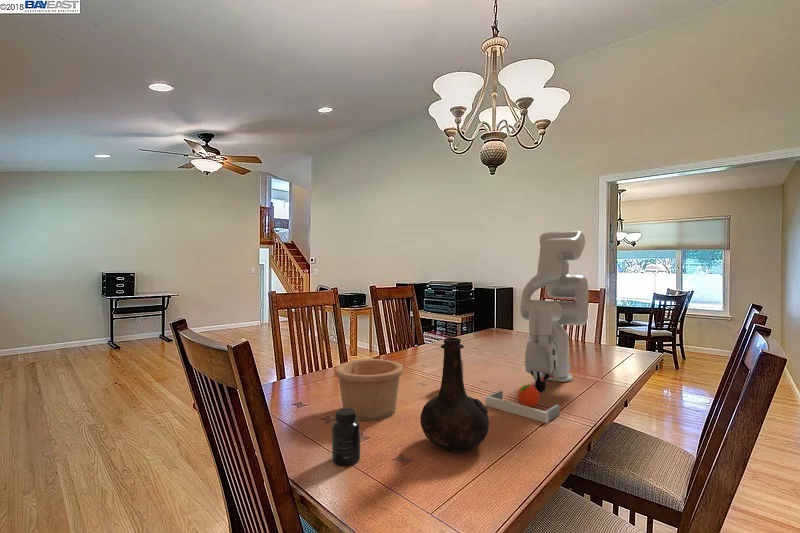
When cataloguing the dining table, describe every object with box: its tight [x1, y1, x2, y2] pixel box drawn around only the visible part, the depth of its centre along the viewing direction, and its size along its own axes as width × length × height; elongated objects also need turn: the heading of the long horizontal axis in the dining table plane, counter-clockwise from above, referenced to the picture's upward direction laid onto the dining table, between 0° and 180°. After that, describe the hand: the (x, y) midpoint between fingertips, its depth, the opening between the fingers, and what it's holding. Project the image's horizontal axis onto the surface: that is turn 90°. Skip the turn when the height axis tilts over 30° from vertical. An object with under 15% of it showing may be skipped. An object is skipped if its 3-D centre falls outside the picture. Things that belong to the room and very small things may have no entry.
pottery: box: [334, 358, 404, 422], centre depth 130 cm, size 22×22×14 cm
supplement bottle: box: [331, 407, 361, 467], centre depth 98 cm, size 7×7×12 cm
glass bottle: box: [419, 337, 490, 453], centre depth 106 cm, size 18×18×28 cm
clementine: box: [517, 384, 540, 408], centre depth 133 cm, size 8×7×7 cm
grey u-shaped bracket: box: [485, 389, 560, 424], centre depth 130 cm, size 9×21×3 cm, turn 45°
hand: (540, 391), depth 140 cm, fingers closed
